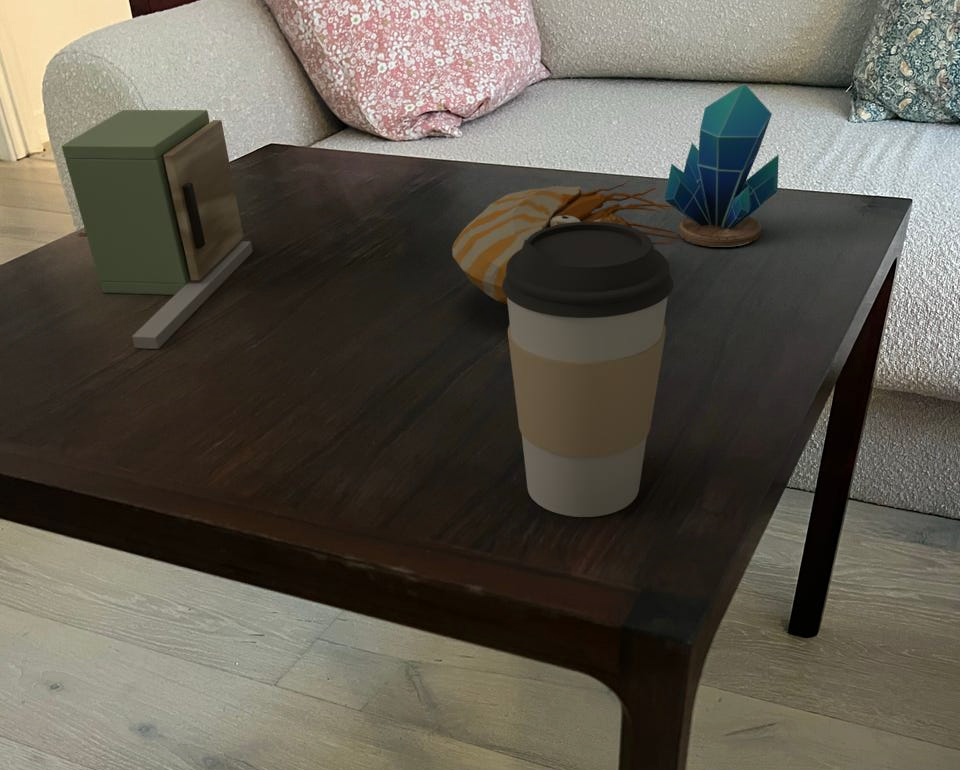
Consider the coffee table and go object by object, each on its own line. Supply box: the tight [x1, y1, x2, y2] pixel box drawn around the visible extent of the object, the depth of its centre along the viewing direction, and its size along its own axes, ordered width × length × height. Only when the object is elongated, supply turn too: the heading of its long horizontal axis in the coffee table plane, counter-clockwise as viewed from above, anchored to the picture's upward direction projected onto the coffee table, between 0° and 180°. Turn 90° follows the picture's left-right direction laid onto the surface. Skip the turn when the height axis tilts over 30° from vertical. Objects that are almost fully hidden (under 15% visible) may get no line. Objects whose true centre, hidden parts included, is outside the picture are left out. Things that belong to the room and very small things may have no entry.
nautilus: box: [451, 179, 682, 306], centre depth 84 cm, size 8×22×15 cm
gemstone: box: [663, 83, 780, 247], centre depth 91 cm, size 7×9×12 cm
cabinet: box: [61, 109, 254, 350], centre depth 87 cm, size 10×22×12 cm, turn 169°
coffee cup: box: [502, 222, 675, 518], centre depth 59 cm, size 9×9×15 cm
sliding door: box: [163, 119, 244, 280], centre depth 90 cm, size 1×10×10 cm, turn 169°
